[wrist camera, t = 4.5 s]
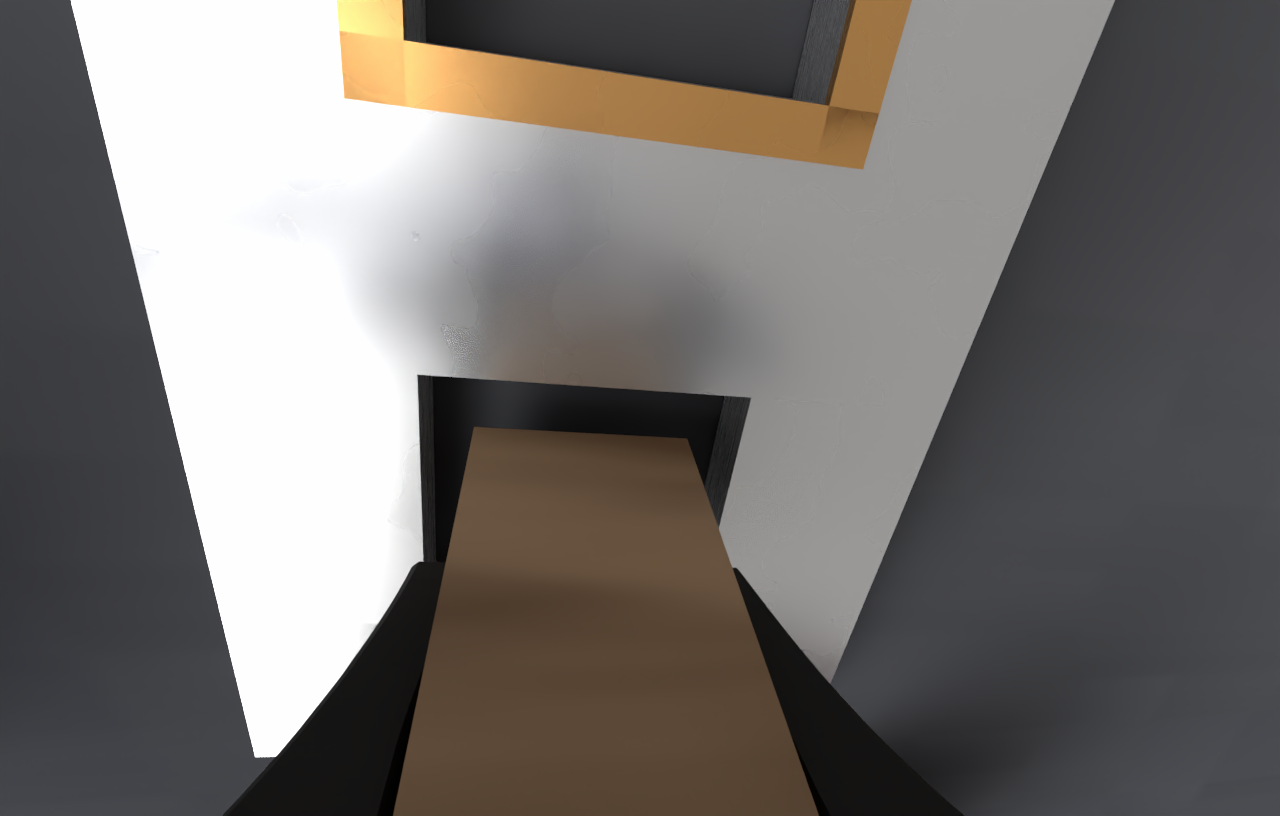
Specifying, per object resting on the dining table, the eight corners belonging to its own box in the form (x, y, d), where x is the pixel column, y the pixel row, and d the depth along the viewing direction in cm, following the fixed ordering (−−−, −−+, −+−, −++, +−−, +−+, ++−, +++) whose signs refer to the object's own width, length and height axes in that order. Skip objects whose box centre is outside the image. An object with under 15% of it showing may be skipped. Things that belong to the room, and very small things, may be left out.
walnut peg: (656, 591, 14) (757, 1110, 7) (471, 588, 13) (385, 1161, 6) (687, 438, 12) (863, 943, 5) (474, 426, 12) (357, 990, 5)
